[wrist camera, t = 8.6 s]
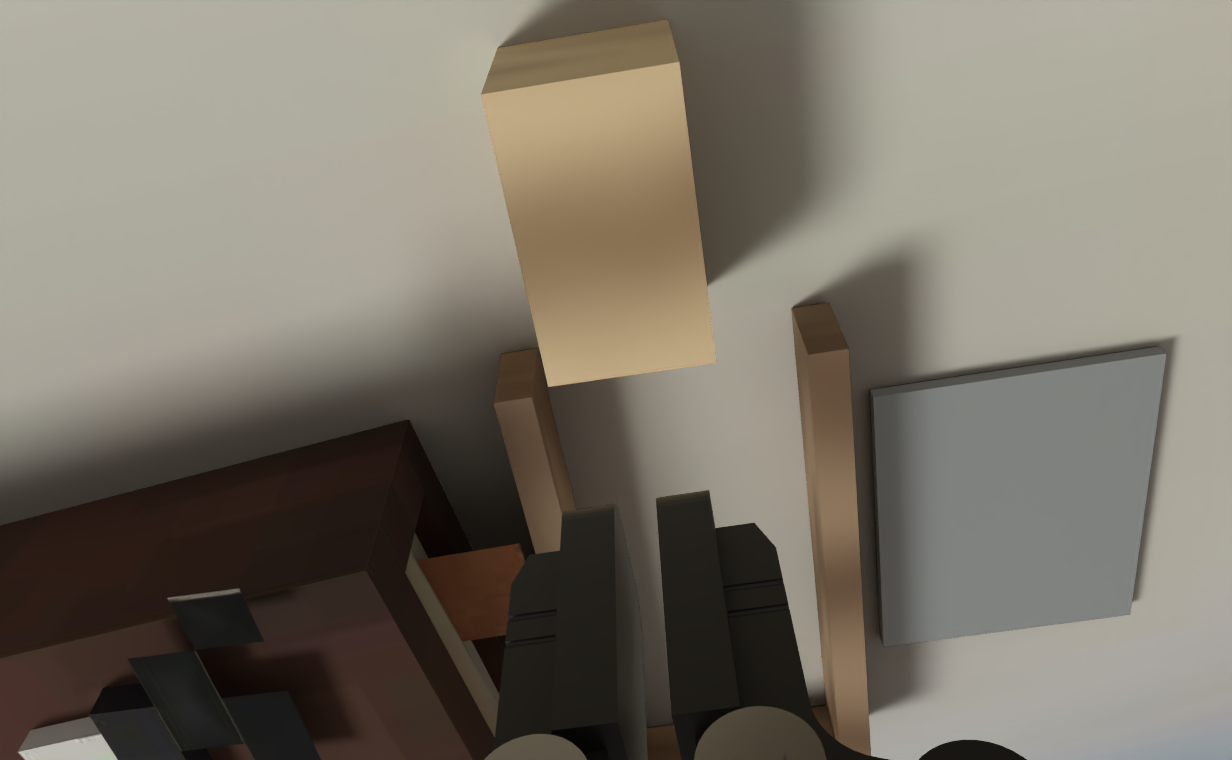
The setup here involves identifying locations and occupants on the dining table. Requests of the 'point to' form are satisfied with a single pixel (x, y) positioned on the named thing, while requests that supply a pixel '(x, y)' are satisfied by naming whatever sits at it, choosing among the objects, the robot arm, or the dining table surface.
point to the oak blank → (602, 201)
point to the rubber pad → (1012, 495)
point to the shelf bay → (828, 497)
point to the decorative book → (257, 616)
